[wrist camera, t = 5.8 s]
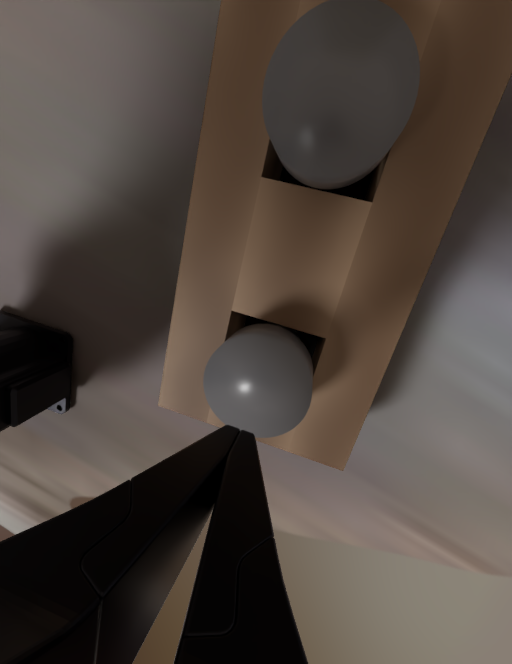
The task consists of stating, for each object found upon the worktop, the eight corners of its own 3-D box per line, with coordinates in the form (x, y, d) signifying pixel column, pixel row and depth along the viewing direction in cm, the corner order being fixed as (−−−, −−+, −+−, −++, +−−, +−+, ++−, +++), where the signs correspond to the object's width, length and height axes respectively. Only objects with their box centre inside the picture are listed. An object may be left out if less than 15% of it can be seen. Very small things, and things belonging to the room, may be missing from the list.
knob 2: (274, 193, 15) (247, 160, 9) (299, 91, 14) (283, -16, 8) (360, 213, 14) (384, 191, 9) (395, 109, 13) (448, 8, 8)
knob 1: (233, 366, 18) (194, 417, 13) (249, 298, 17) (214, 321, 11) (302, 389, 17) (293, 452, 12) (325, 320, 16) (327, 356, 11)
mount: (189, 375, 19) (157, 405, 16) (252, 41, 14) (227, -38, 10) (338, 425, 18) (343, 471, 14) (474, 78, 12) (541, 3, 9)
